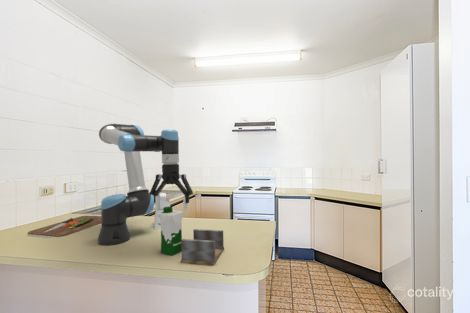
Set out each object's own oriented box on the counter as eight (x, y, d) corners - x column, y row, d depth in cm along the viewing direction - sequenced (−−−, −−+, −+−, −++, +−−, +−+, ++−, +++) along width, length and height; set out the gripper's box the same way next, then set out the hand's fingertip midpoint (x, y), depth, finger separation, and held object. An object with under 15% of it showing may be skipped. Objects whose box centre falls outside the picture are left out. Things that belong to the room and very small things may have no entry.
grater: (171, 222, 160) (170, 192, 159) (172, 227, 150) (172, 194, 150) (154, 224, 156) (153, 193, 156) (154, 229, 146) (154, 195, 146)
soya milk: (172, 246, 118) (171, 205, 118) (186, 250, 113) (185, 207, 113) (157, 252, 110) (156, 208, 110) (171, 257, 106) (171, 211, 105)
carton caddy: (180, 262, 100) (180, 241, 100) (195, 247, 116) (195, 228, 116) (213, 265, 97) (213, 243, 97) (224, 249, 114) (223, 229, 113)
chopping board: (57, 239, 132) (57, 234, 132) (20, 236, 138) (19, 230, 138) (117, 218, 175) (116, 213, 175) (86, 216, 182) (86, 212, 182)
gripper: (141, 164, 110) (142, 211, 110) (193, 163, 105) (194, 212, 105) (150, 163, 118) (151, 207, 118) (199, 163, 113) (200, 208, 113)
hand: (171, 210), depth 111 cm, fingers open, 13 cm apart
